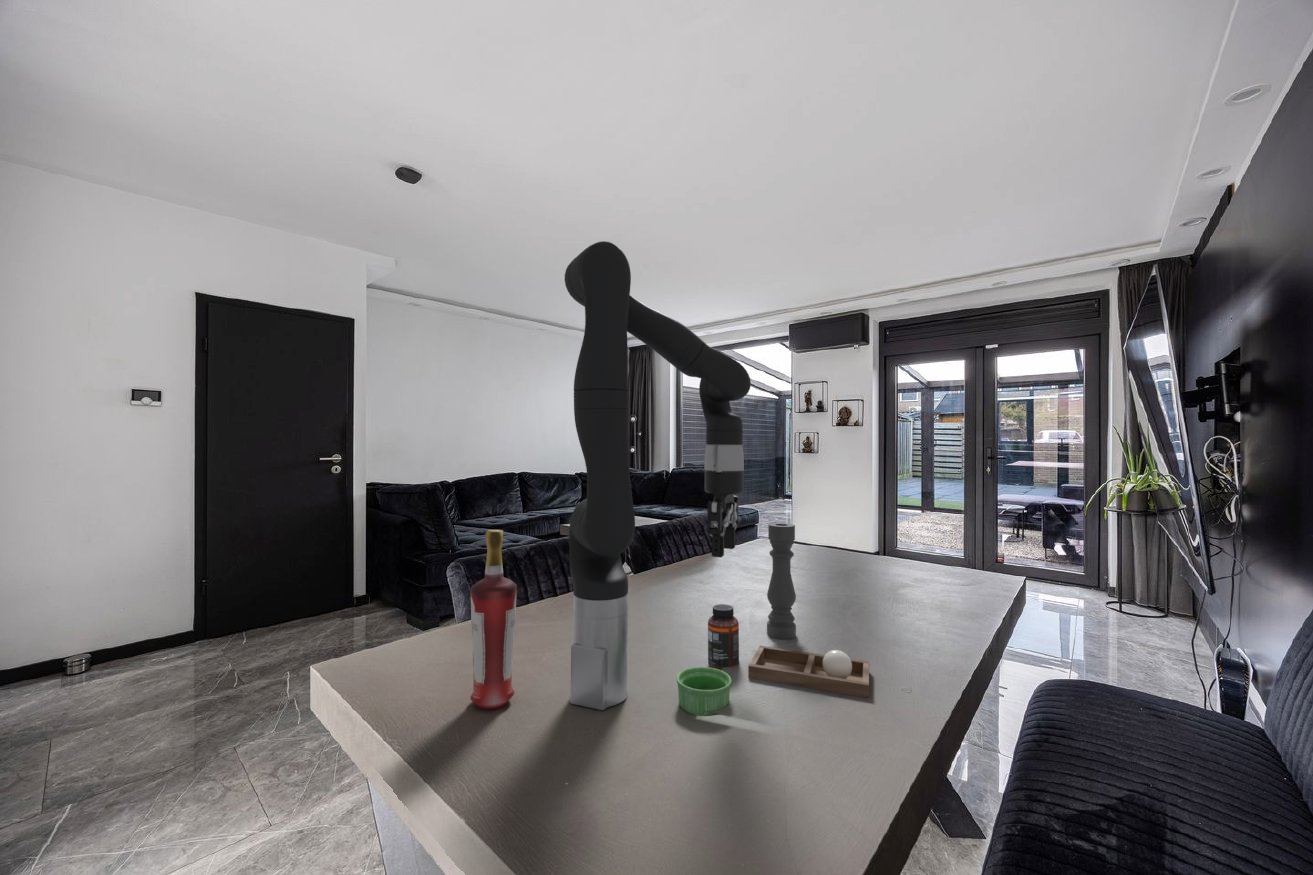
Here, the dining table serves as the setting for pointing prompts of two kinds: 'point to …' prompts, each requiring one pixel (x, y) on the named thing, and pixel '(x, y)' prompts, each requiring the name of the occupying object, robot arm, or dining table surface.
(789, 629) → the grey turned candlestick
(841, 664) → the egg
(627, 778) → the dining table surface
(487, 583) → the liquor
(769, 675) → the holder
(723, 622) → the supplement bottle
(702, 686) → the ramekin
